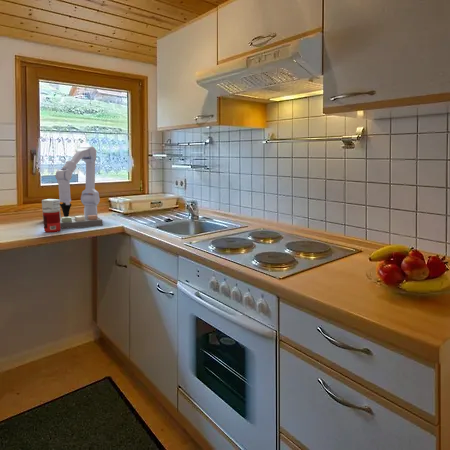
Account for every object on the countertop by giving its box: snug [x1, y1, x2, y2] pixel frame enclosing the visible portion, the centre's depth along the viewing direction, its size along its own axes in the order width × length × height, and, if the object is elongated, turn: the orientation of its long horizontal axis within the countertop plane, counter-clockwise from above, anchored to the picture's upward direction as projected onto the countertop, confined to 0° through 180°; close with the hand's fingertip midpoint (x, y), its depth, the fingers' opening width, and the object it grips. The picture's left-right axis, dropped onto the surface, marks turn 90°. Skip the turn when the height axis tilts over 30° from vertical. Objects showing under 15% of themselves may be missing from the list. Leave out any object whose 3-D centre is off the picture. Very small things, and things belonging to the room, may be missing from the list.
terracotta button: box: [88, 214, 98, 220], centre depth 226 cm, size 4×4×3 cm
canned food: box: [42, 209, 61, 234], centre depth 204 cm, size 8×8×11 cm
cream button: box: [74, 215, 85, 221], centre depth 222 cm, size 4×4×3 cm
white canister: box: [41, 198, 62, 222], centre depth 237 cm, size 7×7×13 cm
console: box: [60, 217, 104, 230], centre depth 222 cm, size 12×22×3 cm, turn 122°
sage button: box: [61, 216, 73, 222], centre depth 218 cm, size 4×4×3 cm
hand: (66, 216), depth 218 cm, fingers closed
